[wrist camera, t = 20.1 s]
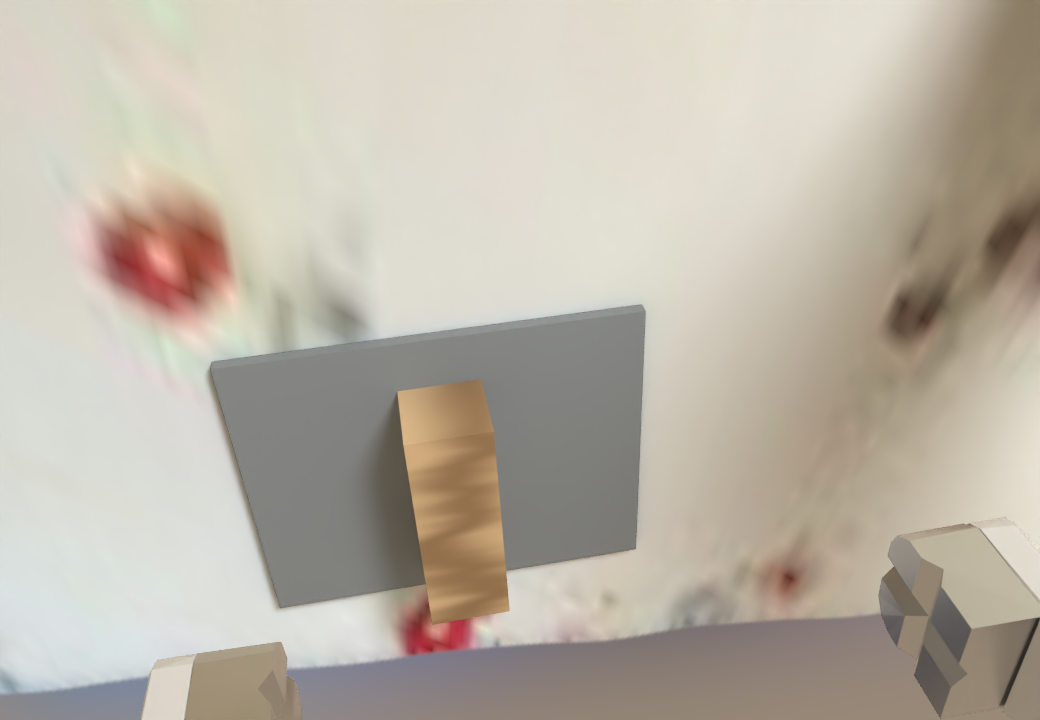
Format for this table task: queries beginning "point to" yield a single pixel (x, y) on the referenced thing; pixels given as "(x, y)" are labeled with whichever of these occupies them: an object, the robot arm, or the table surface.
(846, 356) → the table surface
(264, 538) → the slate mat
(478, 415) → the oak post
